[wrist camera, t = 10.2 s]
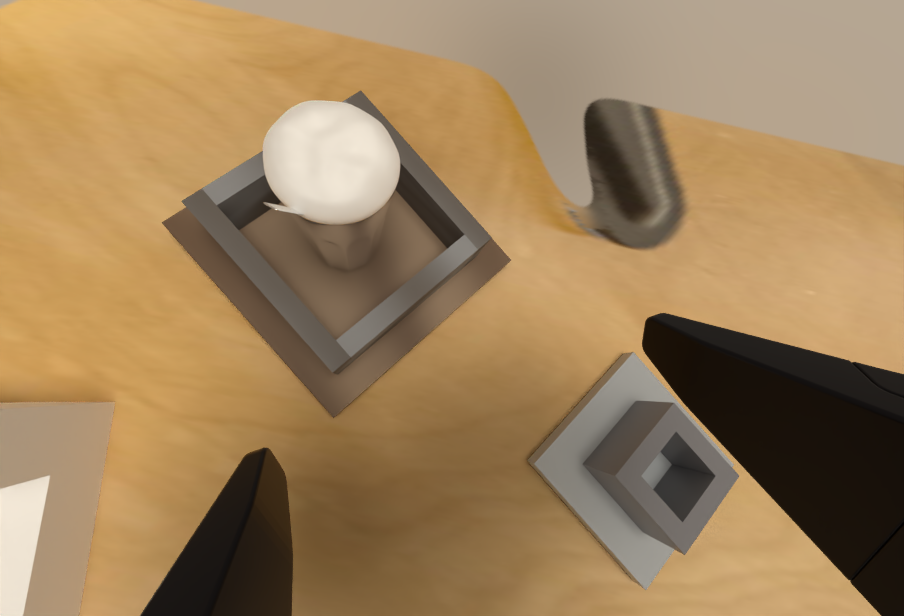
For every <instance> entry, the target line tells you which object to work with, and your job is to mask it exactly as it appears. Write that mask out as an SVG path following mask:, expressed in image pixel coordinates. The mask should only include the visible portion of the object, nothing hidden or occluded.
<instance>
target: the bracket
mask: <svg viewBox="0 0 904 616" xmlns="http://www.w3.org/2000/svg"><path fill="white" fill-rule="evenodd" d="M114 407H115V402H15V403H0V616H79V613H80V607H81V601H82V596H83V590H84V584H85V578H86V572H87V566H88V560H89V554H90V548H91V542H92V537H93V531H94V525H95V519H96V513H97V507H98V501H99V495H100V489H101V484H102V478H103V472H104V466H105V460H106V454H107V448H108V442H109V436H110V430H111V425H112V419H113V413H114Z"/></svg>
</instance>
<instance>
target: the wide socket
mask: <svg viewBox="0 0 904 616" xmlns="http://www.w3.org/2000/svg"><path fill="white" fill-rule="evenodd" d="M343 102H344V103H348V104H351V105H353V106H355V107H357V108H359V109H361V110H363V111H365V112H366V113H368V114H369V115H371V116H373V117H374V118H375V119H377V120H378V121H379V122H380V123H382V125H383V126H384V127H385V128H386V130H387V131H388V133H389V135H390V137H391V138H392V140H393V142H394V144H395V146H396V148H397V150H398V153H399V157H400V174H399V180H398V183H397V186H396V188H395V191H394V194H393V197H392V199H391V202H390V205H389V208H388V210H387V214H386V217H385V221H384V225H383V228H382V232H381V235H380V239H379V243H378V246H377V249H376V250H375V252H374V254H373V255H372V257H371V258H370V260H369V262H368V263H367V264H365V265H363V266H360V267H358V268H355V269H353V270H350V271H348V270H343V269H339V268H334V267H330V266H329V265H328V264H327V263H326V262H325V261H324V260H323V259H322V258H321V256H320V255H319V254H318V253H317V252H316V251H315V249H314V248H313V246H312V245H311V243H310V242H309V240H308V239H307V237H306V236H305V234H304V233H303V231H302V229H301V228H300V226H299V225H298V223H297V222H296V221H295V219H294V218H293V217H292V216H291V214H290V213H286V212H281V211H276V210H274V209H272V208H271V207H269V206H267V205H265V204H264V203H263V202H267V203H272V204H276V205H281V206H284V205H283V204H282V202H281V201H280V200H279V199H278V197H277V196H276V195H275V194H274V192H273V191H272V189H271V188H270V186H269V184H268V181H267V179H266V176H265V171H264V164H263V151H262V152H260V153H259V154H257V155H255V156H254V157H252V158H251V159H249V160H247V161H246V162H244V163H242V164H241V165H239V166H238V167H236V168H234V169H233V170H231V171H229V172H228V173H226V174H225V175H223V176H221V177H220V178H218V179H216V180H215V181H213V182H212V183H210V184H208V185H207V186H205V187H203V188H202V189H200V190H199V191H197V192H195V193H194V194H192V195H191V196H189V197H187V198H186V199H184V200H182V203H183V204H184V205H185V206H186V208H184V209H183V210H181V211H179V212H178V213H176V214H175V215H173V216H171V217H170V218H168V219H167V220H165V221H163V222H162V224H163V225H164V226H165V227H166V228H167V229H168V230H169V232H170V233H171V234H172V235H173V236H174V237H175V238H176V239H177V241H178V242H179V243H180V244H181V245H182V246H183V247H184V249H185V250H186V251H187V252H188V253H189V254H190V255H191V256H192V258H193V259H194V260H195V261H196V262H197V263H198V264H199V266H200V267H201V268H202V269H203V270H204V271H205V272H206V274H207V275H208V276H209V277H210V278H211V279H212V280H213V281H214V283H215V284H216V285H217V286H218V287H219V288H220V289H221V291H222V292H223V293H224V294H225V295H226V296H227V297H228V298H229V300H230V301H231V302H232V303H233V304H234V305H235V306H236V308H237V309H238V310H239V311H240V312H241V313H242V314H243V316H244V317H245V318H246V319H247V320H248V321H249V322H250V323H251V325H252V326H253V327H254V328H255V329H256V330H257V331H258V333H259V334H260V335H261V336H262V337H263V338H264V339H265V340H266V342H267V343H268V344H269V345H270V346H271V347H272V348H273V350H274V351H275V352H276V353H277V354H278V355H279V356H280V358H281V359H282V360H283V361H284V362H285V363H286V364H287V365H288V367H289V368H290V369H291V370H292V371H293V372H294V373H295V375H296V376H297V377H298V378H299V379H300V380H301V381H302V382H303V384H304V385H305V386H306V387H307V388H308V389H309V390H310V392H311V393H312V394H313V395H314V396H315V397H316V398H317V400H318V401H319V402H320V403H321V404H322V405H323V406H324V407H325V409H326V410H327V411H328V412H329V413H330V414H331V415H332V417H333V418H334V417H335V416H336V415H337V414H339V413H340V412H341V411H342V410H343V409H344V408H345V407H346V406H348V405H349V404H350V403H351V402H352V401H353V400H354V399H355V398H357V397H358V396H359V395H360V394H361V393H362V392H363V391H364V390H366V389H367V388H368V387H369V386H370V385H371V384H372V383H373V382H375V381H376V380H377V379H378V378H379V377H380V376H381V375H382V374H384V373H385V372H386V371H387V370H388V369H389V368H390V367H392V366H393V365H394V364H395V363H396V362H397V361H398V360H399V359H401V358H402V357H403V356H404V355H405V354H406V353H407V352H408V351H410V350H411V349H412V348H413V347H414V346H415V345H416V344H417V343H419V342H420V341H421V340H422V339H423V338H424V337H425V336H426V335H428V334H429V333H430V332H431V331H432V330H433V329H434V328H435V327H437V326H438V325H439V324H440V323H441V322H442V321H443V320H444V319H446V318H447V317H448V316H449V315H450V314H451V313H452V312H453V311H455V310H456V309H457V308H458V307H459V306H460V305H461V304H462V303H464V302H465V301H466V300H467V299H468V298H469V297H470V296H472V295H473V294H474V293H475V292H476V291H477V290H478V289H479V288H481V287H482V286H483V285H484V284H485V283H486V282H487V281H488V280H490V279H491V278H492V277H493V276H494V275H495V274H496V273H497V272H499V271H500V270H501V269H502V268H503V267H504V266H505V265H506V264H508V263H509V262H510V261H511V259H510V258H509V257H508V256H507V255H506V254H505V253H504V252H503V250H502V249H501V248H500V247H499V246H498V245H497V244H496V243H495V241H494V240H493V239H492V237H491V236H490V235H489V234H488V233H487V232H486V231H485V229H484V228H483V227H482V226H481V225H480V224H479V223H478V222H477V220H476V219H475V218H474V217H473V216H472V215H471V214H470V213H469V212H468V210H467V209H466V208H465V207H464V206H463V205H462V204H461V203H460V201H459V200H458V199H457V198H456V197H455V196H454V195H453V194H452V192H451V191H450V190H449V189H448V188H447V187H446V186H445V185H444V183H443V182H442V181H441V180H440V179H439V178H438V177H437V176H436V174H435V173H434V172H433V171H432V170H431V169H430V168H429V167H428V165H427V164H426V163H425V162H424V161H423V160H422V159H421V158H420V156H419V155H418V154H417V153H416V152H415V151H414V150H413V149H412V147H411V146H410V145H409V144H408V143H407V142H406V141H405V140H404V138H403V137H402V136H401V135H400V134H399V133H398V132H397V131H396V129H395V128H394V127H393V126H392V125H391V124H390V123H389V122H388V120H387V119H386V118H385V117H384V116H383V115H382V114H381V113H380V111H379V110H378V109H377V108H376V107H375V106H374V105H373V104H372V103H371V101H370V100H369V99H368V98H367V97H366V96H365V95H364V94H363V92H362V91H359V92H358V93H356V94H354V95H353V96H351V97H349V98H348V99H346V100H345V101H343Z"/></svg>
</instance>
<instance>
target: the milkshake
mask: <svg viewBox="0 0 904 616" xmlns="http://www.w3.org/2000/svg"><path fill="white" fill-rule="evenodd" d="M263 164H264V171H265V176H266V179H267V181H268V184H269V186H270V188H271V189H272V191H273V192H274V194H275V195H276V196H277V197H278V199H279V200H280V201H281V202H282V204H283V205H284V206H281V205H276V204H272V203H267V202H263V203H264V204H265V205H267V206H269V207H271V208H272V209H274V210H276V211H281V212H286V213H290V214H291V216H292V217H293V218H294V219H295V221H296V222H297V223H298V225H299V226H300V228H301V229H302V231H303V233H304V234H305V236H306V237H307V239H308V240H309V242H310V243H311V245H312V246H313V248H314V249H315V251H316V252H317V253H318V254H319V255H320V256H321V258H322V259H323V260H324V261H325V262H326V263H327V264H328V265H329V266H330V267H334V268H339V269H343V270H348V271H350V270H353V269H355V268H358V267H360V266H363V265H365V264H367V263H368V262H369V260H370V258H371V257H372V255H373V254H374V252H375V250H376V249H377V246H378V243H379V239H380V235H381V232H382V228H383V225H384V221H385V217H386V214H387V210H388V208H389V205H390V202H391V199H392V197H393V194H394V191H395V188H396V186H397V183H398V180H399V174H400V157H399V153H398V150H397V148H396V146H395V144H394V142H393V140H392V138H391V137H390V135H389V133H388V131H387V130H386V128H385V127H384V126H383V125H382V123H380V122H379V121H378V120H377V119H375V118H374V117H373V116H371V115H369V114H368V113H366V112H365V111H363V110H361V109H359V108H357V107H355V106H353V105H351V104H348V103H344V102H336V101H306V102H302V103H300V104H297V105H295V106H293V107H292V108H290V109H289V110H288V111H286V112H285V113H284V114H283V115H282V116H281V117H280V118H279V119H278V120H277V121H276V122H275V123H274V124H273V125H272V127H271V128H270V129H269V131H268V132H267V134H266V136H265V139H264V143H263Z"/></svg>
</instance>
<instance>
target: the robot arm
mask: <svg viewBox="0 0 904 616" xmlns="http://www.w3.org/2000/svg"><path fill="white" fill-rule="evenodd" d="M642 347H643V350H644V352H645V354H646V355H647V356H648V358H649V359H650V360H651V362H652V363H653V364H654V366H655V367H656V368H657V369H658V371H659V372H660V373H661V375H662V376H663V377H664V379H665V380H666V381H667V383H668V384H669V385H670V386H671V388H672V389H673V390H674V392H675V393H676V394H677V395H678V397H679V398H680V399H681V400H682V402H683V403H684V404H685V405H686V406H687V407H688V408H689V410H690V411H691V412H692V413H693V414H694V415H695V416H696V417H697V418H698V419H699V420H700V421H701V422H702V424H703V425H704V426H705V427H706V428H707V429H708V430H709V431H710V432H711V433H712V434H713V435H714V436H715V437H716V439H717V440H718V441H719V442H720V443H721V444H722V445H723V446H724V447H725V448H726V449H727V450H728V451H729V452H730V454H731V455H732V456H733V457H734V458H735V459H736V460H737V461H738V462H739V463H740V464H741V465H742V466H743V467H744V469H745V470H746V471H747V472H748V473H749V474H750V475H751V476H752V477H753V478H754V479H755V480H756V481H757V482H758V484H759V485H760V486H761V487H762V488H763V489H764V490H765V491H766V492H767V493H768V494H769V495H770V496H771V497H772V499H773V500H774V501H775V502H776V503H777V504H778V505H779V506H780V507H781V508H782V509H783V510H784V511H785V513H786V514H787V515H788V516H789V517H790V518H791V519H792V520H793V521H794V522H795V523H796V524H797V525H798V526H799V528H800V529H801V530H802V531H803V532H804V533H805V534H806V535H807V536H808V537H809V538H810V539H811V540H812V541H813V543H814V544H815V545H816V546H817V547H818V548H819V549H820V550H821V551H822V552H823V553H824V554H825V555H826V556H827V558H828V559H829V560H830V561H831V562H832V563H833V564H834V565H835V566H836V567H837V568H838V569H839V570H840V571H841V573H842V574H843V575H844V576H845V577H846V578H847V579H848V580H851V581H850V582H851V584H852V585H853V586H854V587H855V588H856V589H857V590H858V591H859V592H860V593H861V594H862V595H863V596H864V598H865V599H866V600H867V601H868V602H869V603H870V604H871V605H872V606H873V607H874V608H875V609H876V610H877V612H878V613H879V614H880V615H881V616H904V374H900V373H896V372H892V371H888V370H884V369H880V368H876V367H872V366H868V365H865V364H861V363H857V362H852V363H851V362H850V361H849V360H845V359H841V358H837V357H833V356H829V355H826V354H822V353H818V352H814V351H810V350H806V349H802V348H798V347H795V346H791V345H787V344H783V343H779V342H775V341H771V340H767V339H764V338H760V337H756V336H752V335H748V334H744V333H740V332H736V331H732V330H729V329H725V328H721V327H717V326H713V325H709V324H705V323H701V322H698V321H694V320H690V319H686V318H682V317H678V316H674V315H670V314H667V313H660V314H657V315H654V316H651V317H649V318H647V320H646V321H645V327H644V333H643V340H642ZM292 580H293V549H292V536H291V525H290V514H289V502H288V491H287V481H286V476H285V473H284V471H283V469H282V467H281V466H280V464H279V462H278V461H277V459H276V458H275V456H274V455H273V453H272V451H271V450H270V449H268V448H262V449H259V450H256V451H253V452H250V453H248V454H246V455H245V456H244V458H243V459H242V461H241V462H240V464H239V465H238V467H237V468H236V470H235V471H234V473H233V474H232V476H231V477H230V479H229V480H228V482H227V484H226V485H225V487H224V488H223V490H222V491H221V493H220V494H219V496H218V497H217V499H216V500H215V502H214V503H213V505H212V506H211V508H210V509H209V511H208V513H207V514H206V516H205V517H204V519H203V520H202V522H201V523H200V525H199V526H198V528H197V529H196V531H195V532H194V534H193V535H192V537H191V538H190V540H189V542H188V543H187V545H186V546H185V548H184V549H183V551H182V552H181V554H180V555H179V557H178V558H177V560H176V561H175V563H174V564H173V566H172V568H171V569H170V571H169V572H168V574H167V575H166V577H165V578H164V580H163V581H162V583H161V584H160V586H159V587H158V589H157V590H156V592H155V593H154V595H153V597H152V598H151V600H150V601H149V603H148V604H147V606H146V607H145V609H144V610H143V612H142V613H141V615H140V616H292Z"/></svg>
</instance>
